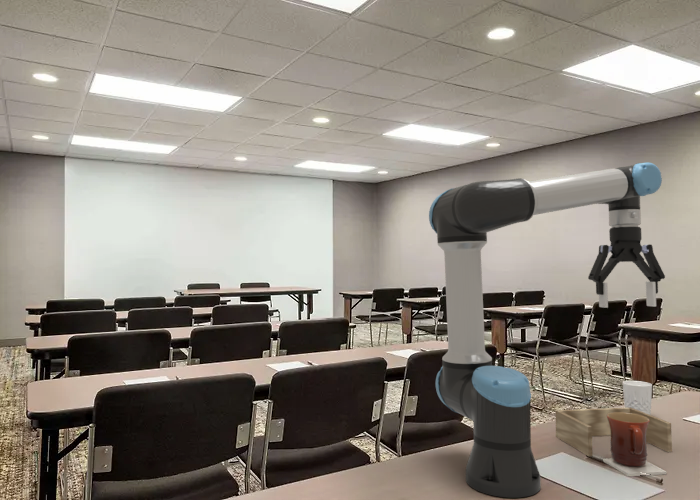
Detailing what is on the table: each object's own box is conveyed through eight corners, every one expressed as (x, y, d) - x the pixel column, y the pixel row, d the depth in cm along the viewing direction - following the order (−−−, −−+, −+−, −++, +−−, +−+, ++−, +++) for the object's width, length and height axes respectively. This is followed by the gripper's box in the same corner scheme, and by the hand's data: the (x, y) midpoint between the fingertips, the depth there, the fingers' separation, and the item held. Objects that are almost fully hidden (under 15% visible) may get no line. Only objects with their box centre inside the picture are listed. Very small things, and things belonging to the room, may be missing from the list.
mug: (602, 454, 124) (601, 411, 125) (642, 457, 123) (641, 413, 123) (618, 473, 113) (617, 425, 113) (662, 476, 111) (661, 428, 111)
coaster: (628, 476, 113) (628, 473, 113) (603, 461, 122) (603, 458, 122) (666, 474, 114) (666, 471, 114) (638, 459, 123) (638, 456, 123)
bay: (588, 456, 125) (587, 427, 125) (556, 436, 140) (555, 410, 140) (671, 451, 128) (671, 423, 128) (631, 433, 143) (630, 407, 143)
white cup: (629, 411, 165) (628, 379, 165) (656, 416, 159) (656, 383, 159) (618, 415, 160) (618, 383, 160) (646, 421, 154) (645, 387, 154)
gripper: (589, 225, 133) (591, 308, 132) (678, 225, 136) (681, 306, 135) (573, 228, 141) (575, 306, 140) (658, 227, 143) (661, 304, 143)
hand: (627, 306), depth 138 cm, fingers open, 13 cm apart
